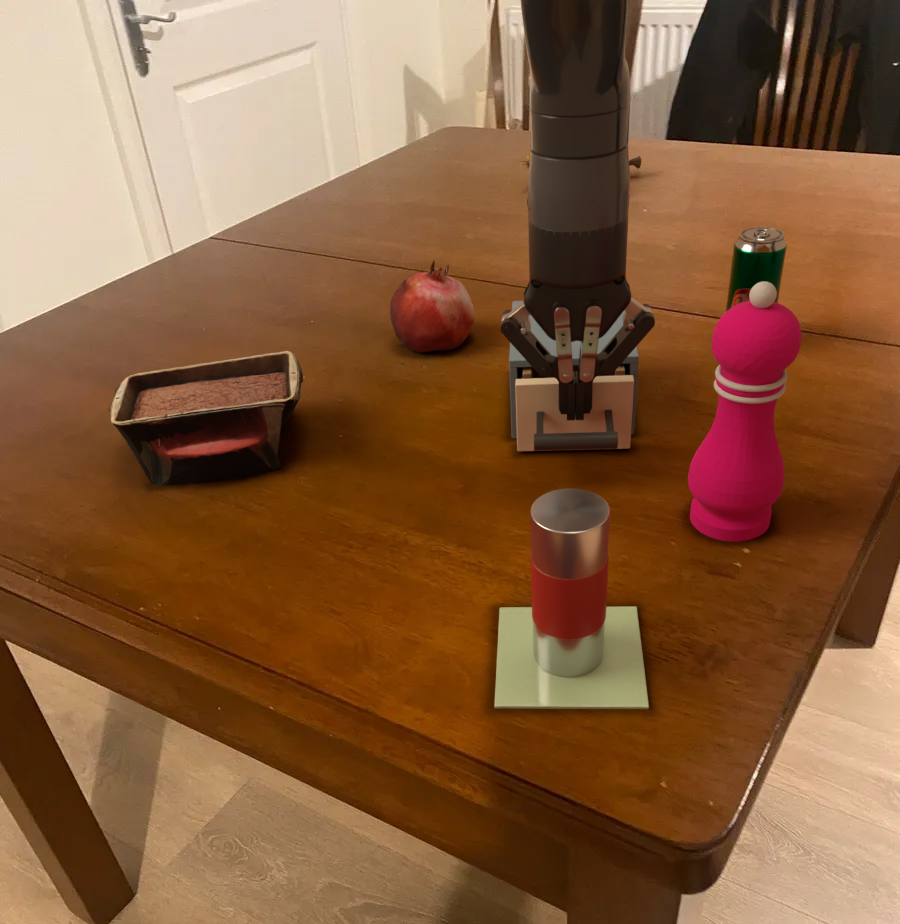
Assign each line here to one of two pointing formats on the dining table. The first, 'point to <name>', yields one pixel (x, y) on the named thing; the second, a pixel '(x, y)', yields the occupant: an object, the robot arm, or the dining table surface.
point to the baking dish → (208, 417)
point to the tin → (569, 580)
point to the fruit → (431, 311)
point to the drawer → (598, 429)
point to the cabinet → (519, 361)
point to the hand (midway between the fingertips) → (575, 415)
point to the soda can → (756, 262)
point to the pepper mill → (744, 419)
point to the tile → (599, 689)
